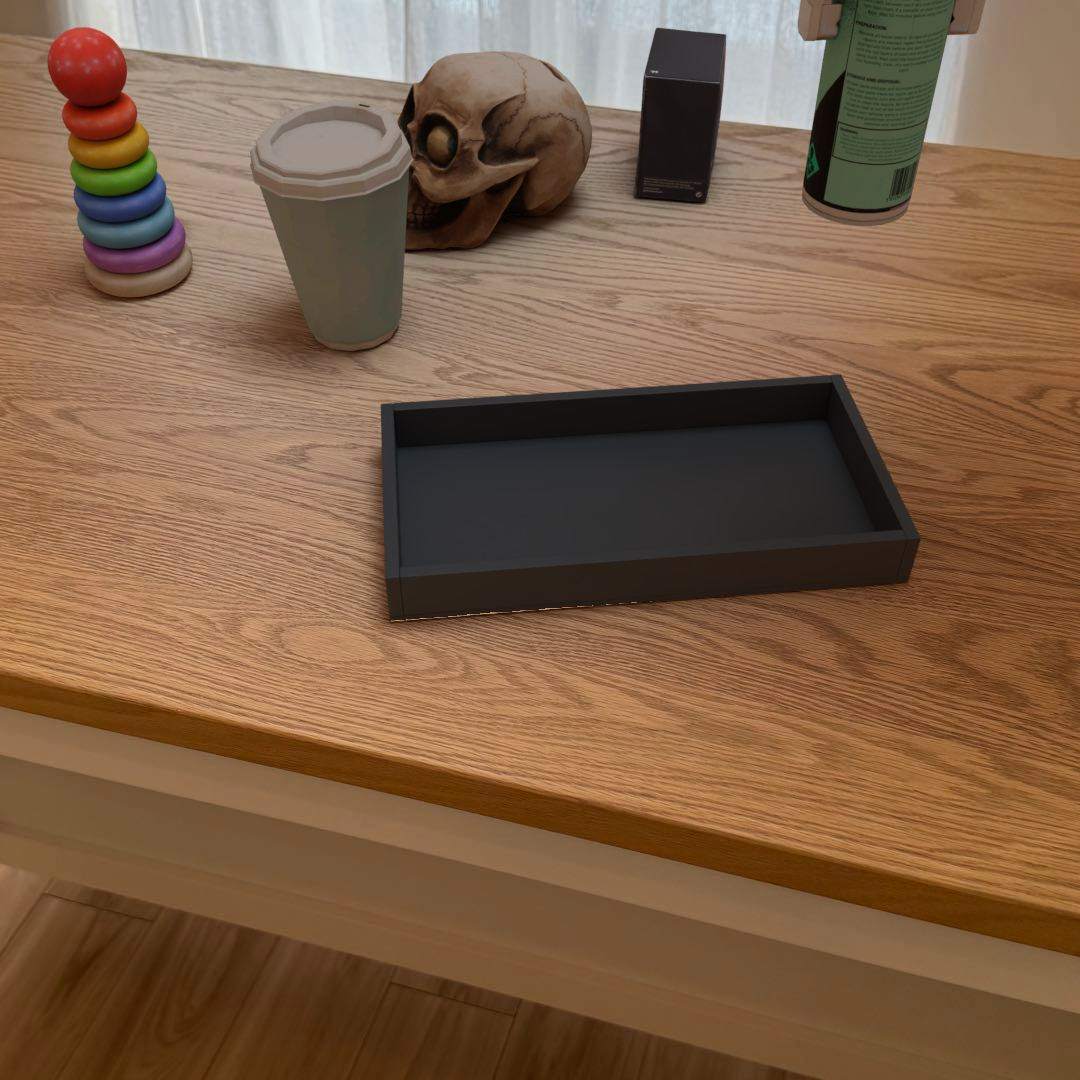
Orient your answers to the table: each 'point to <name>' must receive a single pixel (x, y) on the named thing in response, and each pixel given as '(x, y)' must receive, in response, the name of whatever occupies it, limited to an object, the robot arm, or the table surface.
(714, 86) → the small box
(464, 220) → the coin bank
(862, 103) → the spray can
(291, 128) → the disposable coffee cup
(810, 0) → the robot arm
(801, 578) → the tray
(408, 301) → the table surface
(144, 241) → the stacking toy
